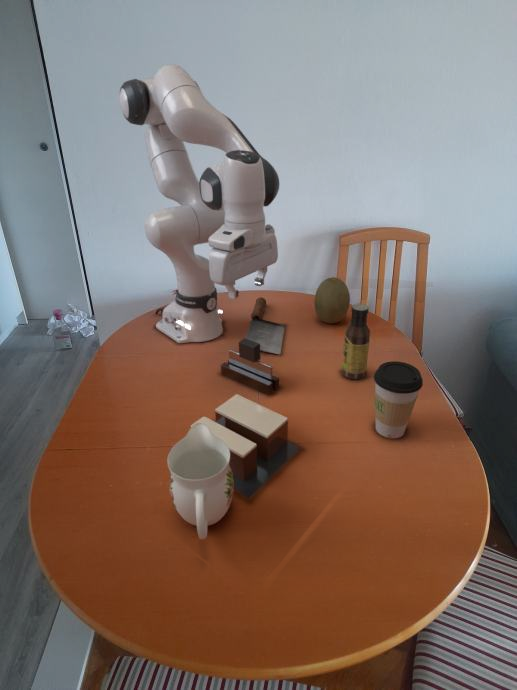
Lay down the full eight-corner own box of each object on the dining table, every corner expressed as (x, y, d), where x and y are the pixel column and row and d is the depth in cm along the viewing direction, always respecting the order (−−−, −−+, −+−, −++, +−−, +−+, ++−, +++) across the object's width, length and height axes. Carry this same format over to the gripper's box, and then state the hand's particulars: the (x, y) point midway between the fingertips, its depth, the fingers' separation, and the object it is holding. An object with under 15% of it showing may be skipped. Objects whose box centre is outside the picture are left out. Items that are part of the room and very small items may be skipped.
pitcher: (170, 565, 71) (159, 505, 64) (176, 480, 86) (168, 425, 80) (239, 558, 72) (235, 498, 65) (232, 475, 87) (229, 420, 81)
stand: (221, 374, 119) (220, 364, 118) (232, 367, 122) (231, 357, 121) (268, 395, 110) (268, 385, 109) (279, 387, 113) (279, 377, 112)
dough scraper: (227, 374, 119) (225, 336, 114) (233, 370, 121) (231, 333, 115) (268, 392, 112) (268, 353, 106) (274, 388, 113) (274, 349, 108)
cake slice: (192, 450, 93) (190, 425, 90) (206, 440, 95) (204, 415, 92) (244, 481, 85) (243, 455, 82) (257, 469, 88) (256, 444, 85)
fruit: (314, 312, 152) (317, 270, 145) (348, 315, 150) (352, 272, 143) (311, 327, 142) (313, 283, 135) (347, 330, 140) (351, 285, 133)
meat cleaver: (280, 354, 128) (280, 342, 126) (241, 352, 129) (241, 340, 127) (287, 307, 157) (288, 296, 155) (255, 306, 158) (255, 295, 156)
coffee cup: (382, 409, 105) (390, 354, 97) (421, 428, 99) (433, 371, 91) (358, 429, 99) (365, 372, 92) (398, 450, 93) (408, 391, 85)
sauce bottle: (344, 366, 122) (350, 299, 112) (367, 370, 120) (375, 302, 110) (338, 378, 117) (345, 309, 107) (362, 383, 115) (371, 312, 105)
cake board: (175, 453, 93) (171, 426, 89) (229, 413, 104) (228, 388, 101) (249, 500, 82) (248, 471, 78) (300, 449, 93) (301, 422, 90)
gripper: (263, 220, 106) (263, 275, 113) (202, 240, 92) (207, 301, 99) (284, 224, 103) (283, 281, 109) (225, 245, 89) (228, 309, 95)
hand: (246, 291), depth 104 cm, fingers open, 8 cm apart
